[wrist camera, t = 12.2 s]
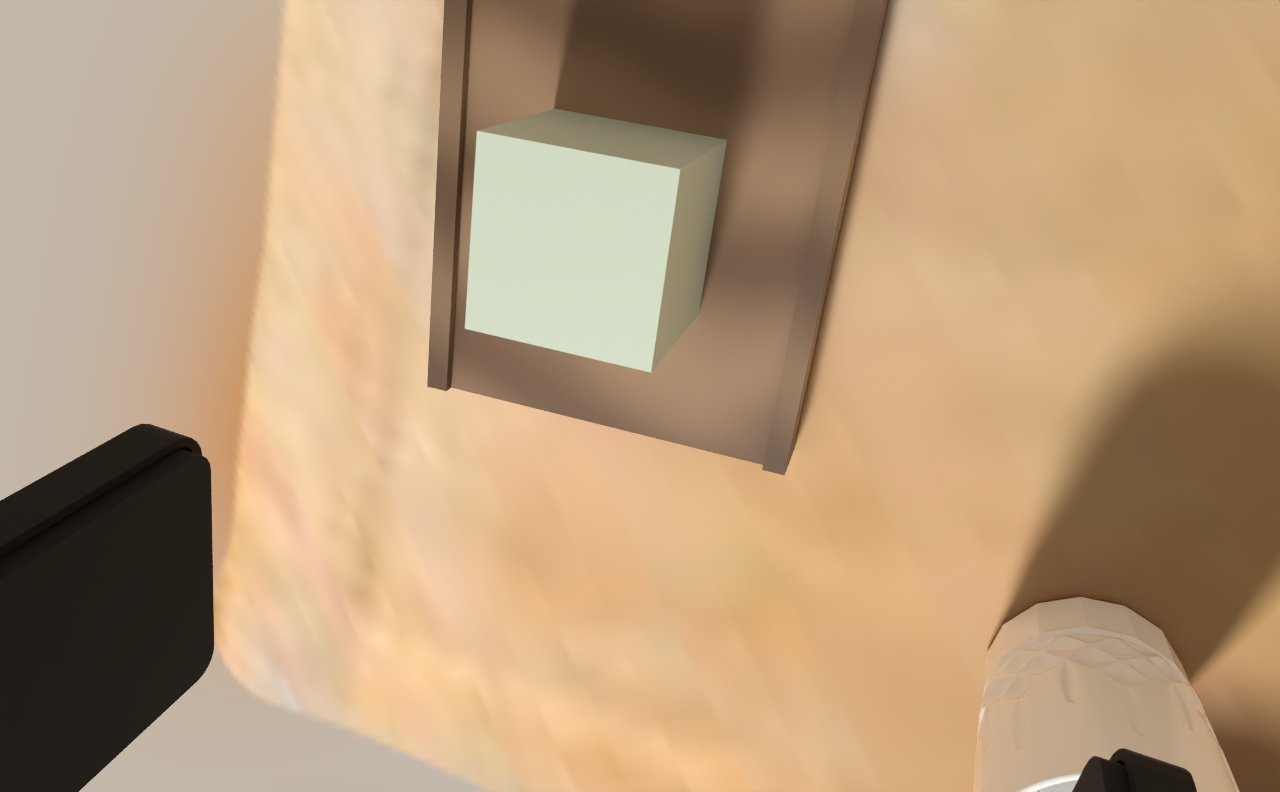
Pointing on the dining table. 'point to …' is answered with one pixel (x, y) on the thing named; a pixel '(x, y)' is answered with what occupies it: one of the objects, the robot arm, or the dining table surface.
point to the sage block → (591, 234)
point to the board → (745, 212)
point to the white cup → (1087, 700)
